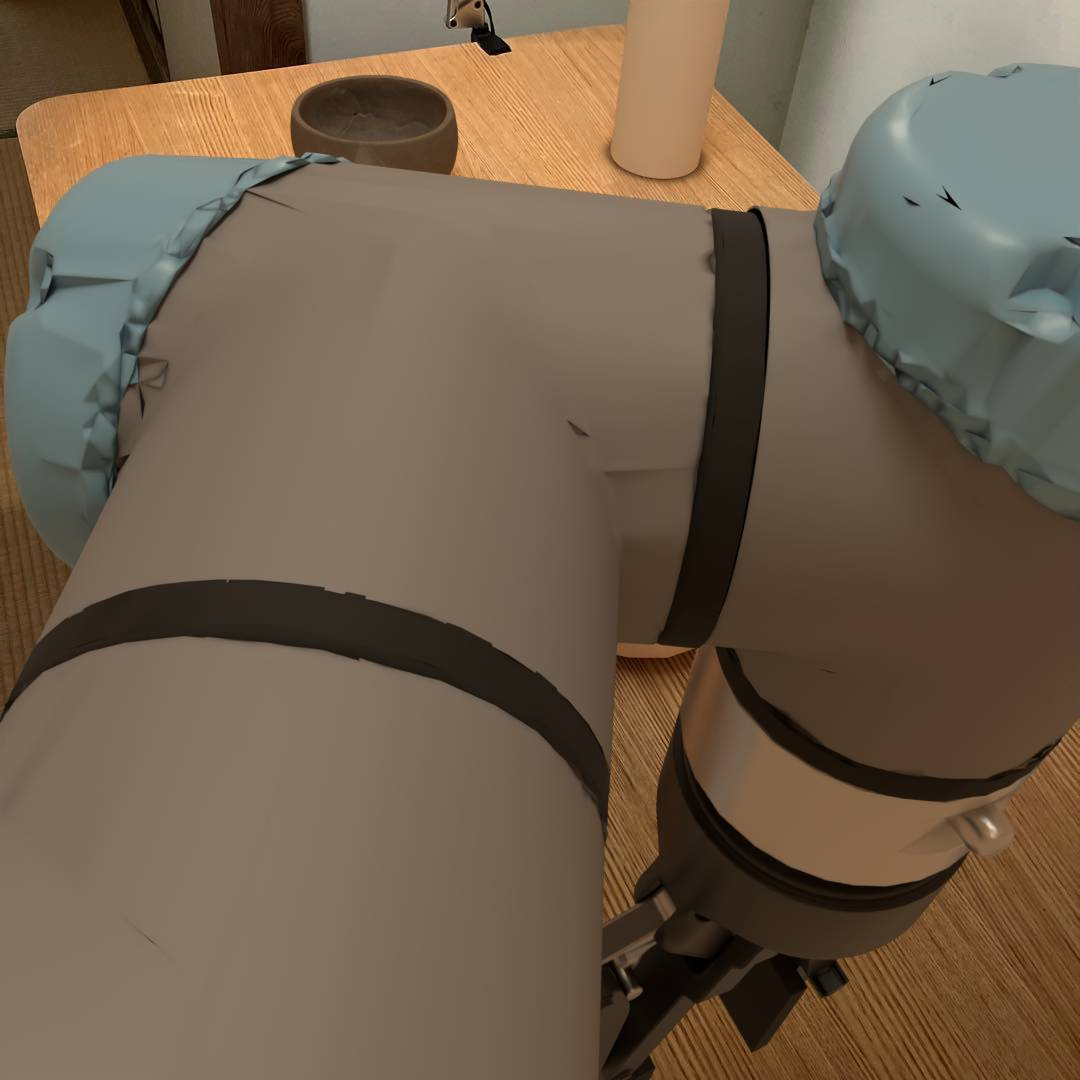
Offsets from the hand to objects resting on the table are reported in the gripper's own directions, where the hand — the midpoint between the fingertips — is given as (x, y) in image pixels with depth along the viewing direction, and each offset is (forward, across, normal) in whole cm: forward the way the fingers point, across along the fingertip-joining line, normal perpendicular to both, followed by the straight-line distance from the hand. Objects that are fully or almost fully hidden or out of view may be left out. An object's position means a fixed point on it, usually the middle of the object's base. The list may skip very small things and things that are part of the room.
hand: (675, 1051), depth 43 cm
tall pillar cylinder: (+19, +56, +92) cm, 109 cm away
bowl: (+19, +22, +95) cm, 99 cm away
